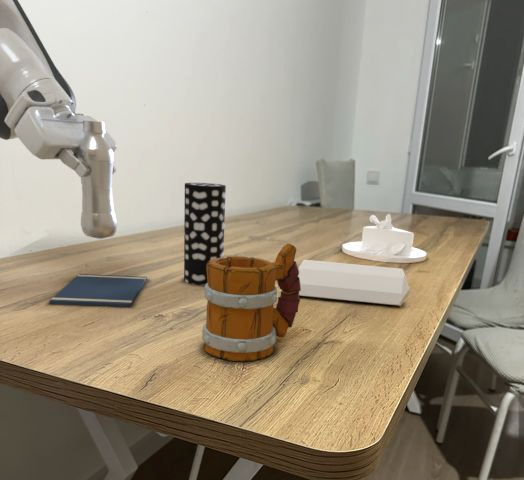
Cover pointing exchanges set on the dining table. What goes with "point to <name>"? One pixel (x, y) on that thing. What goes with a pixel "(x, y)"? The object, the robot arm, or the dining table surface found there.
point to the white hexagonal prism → (353, 282)
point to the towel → (100, 290)
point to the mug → (249, 304)
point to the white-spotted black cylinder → (202, 229)
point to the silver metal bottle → (97, 182)
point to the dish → (385, 244)
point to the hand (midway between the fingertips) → (99, 173)
